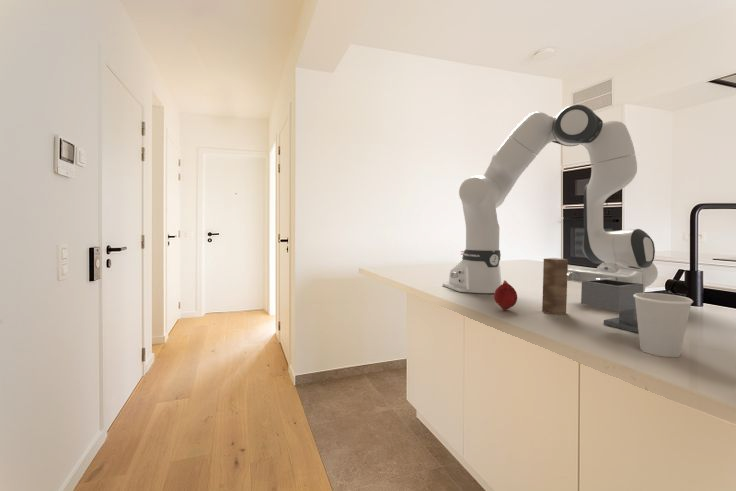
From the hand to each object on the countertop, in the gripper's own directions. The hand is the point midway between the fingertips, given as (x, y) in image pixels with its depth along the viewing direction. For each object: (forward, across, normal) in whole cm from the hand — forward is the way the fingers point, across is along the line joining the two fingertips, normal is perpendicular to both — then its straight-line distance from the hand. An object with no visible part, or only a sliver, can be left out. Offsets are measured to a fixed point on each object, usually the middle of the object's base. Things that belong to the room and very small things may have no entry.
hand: (580, 279), depth 101 cm
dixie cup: (+19, +29, +8) cm, 36 cm away
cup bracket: (+11, +17, +8) cm, 22 cm away
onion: (+20, -7, +8) cm, 23 cm away
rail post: (+10, 0, +8) cm, 13 cm away
